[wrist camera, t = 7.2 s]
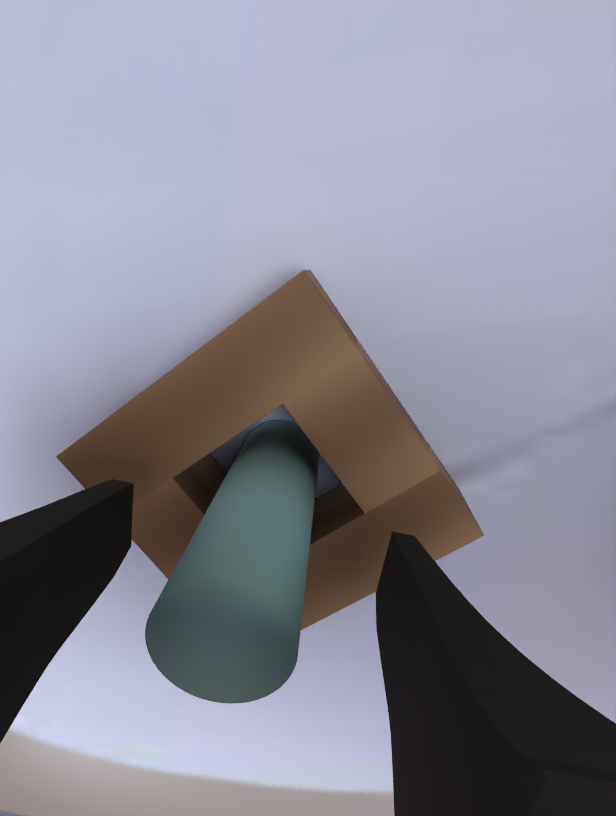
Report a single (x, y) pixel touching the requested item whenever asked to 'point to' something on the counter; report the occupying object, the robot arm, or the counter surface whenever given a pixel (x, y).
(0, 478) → the counter surface
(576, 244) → the counter surface
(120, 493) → the robot arm
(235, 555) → the peg
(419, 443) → the hole block
